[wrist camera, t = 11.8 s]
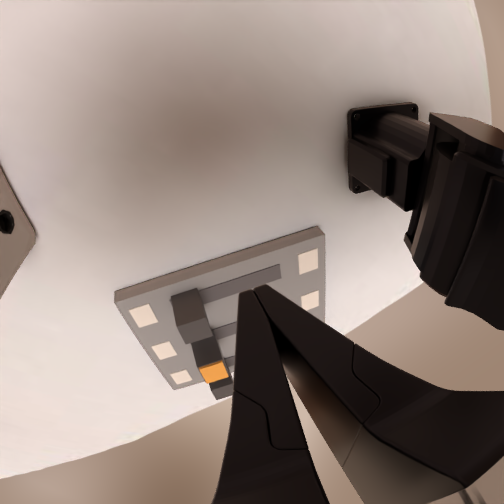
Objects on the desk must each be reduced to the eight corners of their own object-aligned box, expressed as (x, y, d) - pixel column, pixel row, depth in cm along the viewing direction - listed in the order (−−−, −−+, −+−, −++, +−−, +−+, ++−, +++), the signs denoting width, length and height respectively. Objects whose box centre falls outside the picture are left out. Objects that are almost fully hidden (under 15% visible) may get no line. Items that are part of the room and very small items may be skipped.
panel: (317, 226, 24) (345, 257, 21) (319, 329, 32) (337, 359, 29) (114, 291, 22) (114, 334, 19) (171, 380, 30) (179, 415, 27)
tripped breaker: (213, 329, 25) (223, 361, 22) (220, 346, 26) (230, 376, 24) (189, 337, 24) (197, 369, 22) (197, 353, 26) (206, 384, 23)
